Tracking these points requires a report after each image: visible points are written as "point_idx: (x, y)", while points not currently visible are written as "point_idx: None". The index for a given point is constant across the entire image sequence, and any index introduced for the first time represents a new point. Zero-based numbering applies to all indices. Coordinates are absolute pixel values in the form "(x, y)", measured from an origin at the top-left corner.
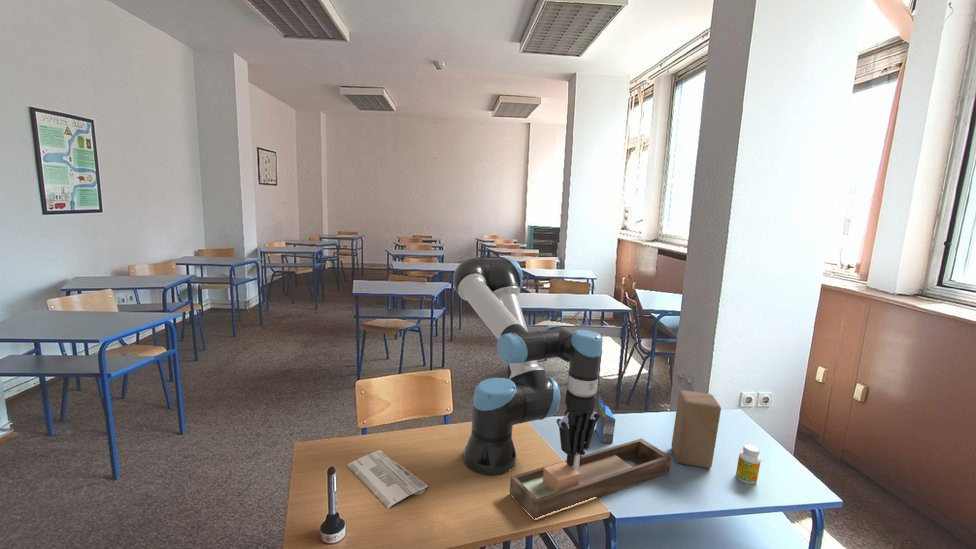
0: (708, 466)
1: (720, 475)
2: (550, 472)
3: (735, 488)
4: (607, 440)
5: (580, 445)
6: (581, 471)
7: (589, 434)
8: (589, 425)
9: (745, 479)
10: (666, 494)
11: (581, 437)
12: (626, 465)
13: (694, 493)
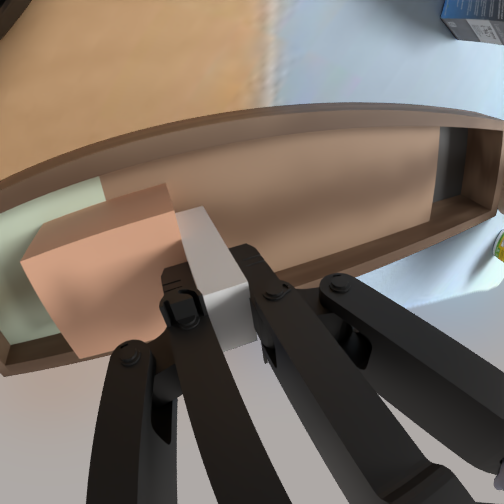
0: (500, 211)
1: (492, 227)
2: (48, 304)
3: (479, 260)
4: (455, 30)
5: (284, 390)
6: (272, 173)
7: (403, 412)
8: (464, 439)
9: (496, 253)
10: (412, 264)
11: (318, 451)
12: (427, 186)
13: (443, 266)
